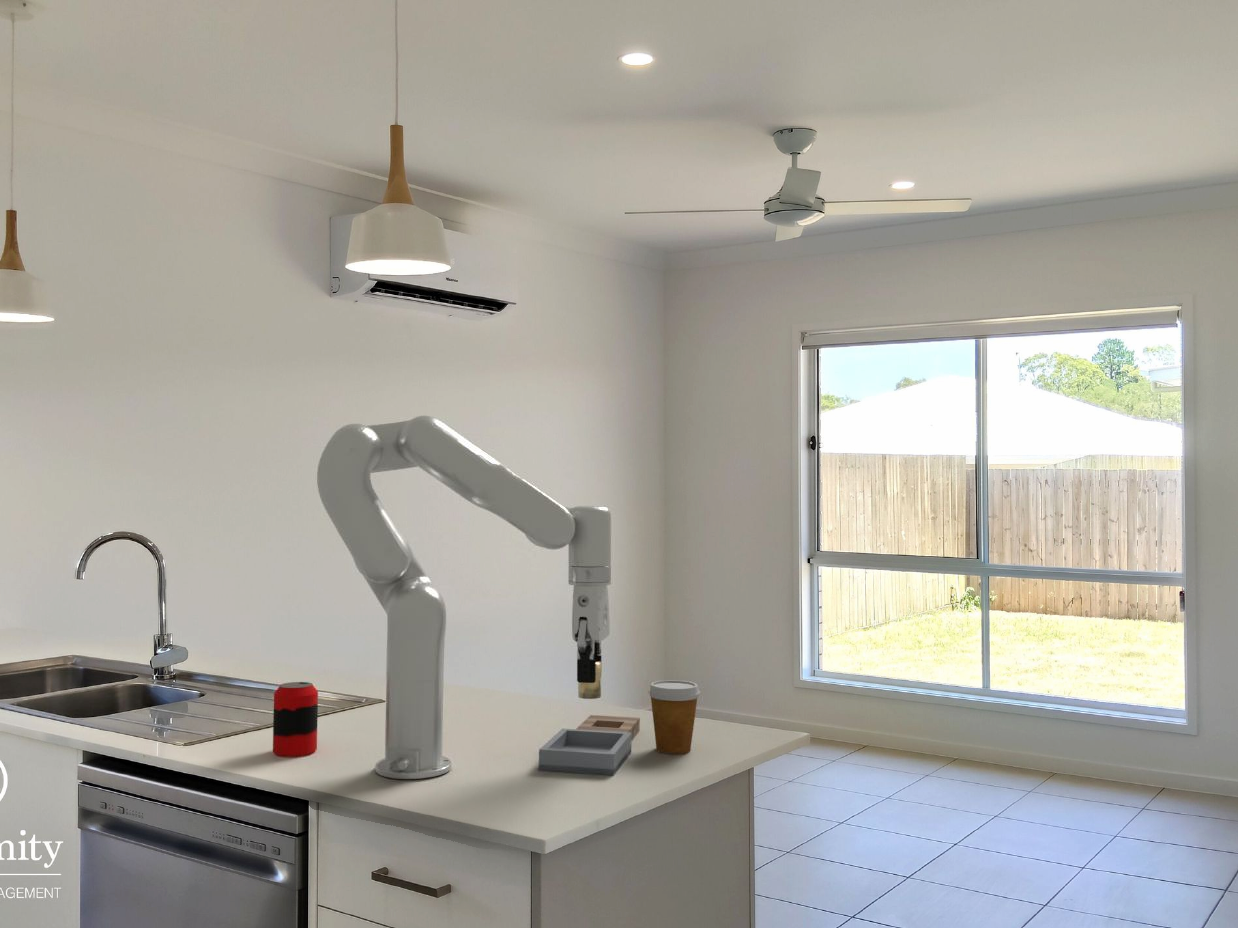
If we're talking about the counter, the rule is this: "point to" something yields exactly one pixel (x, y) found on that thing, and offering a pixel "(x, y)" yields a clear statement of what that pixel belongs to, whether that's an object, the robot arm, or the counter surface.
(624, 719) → the block
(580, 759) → the slate tray
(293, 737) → the soda can
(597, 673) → the pin
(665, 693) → the disposable coffee cup
